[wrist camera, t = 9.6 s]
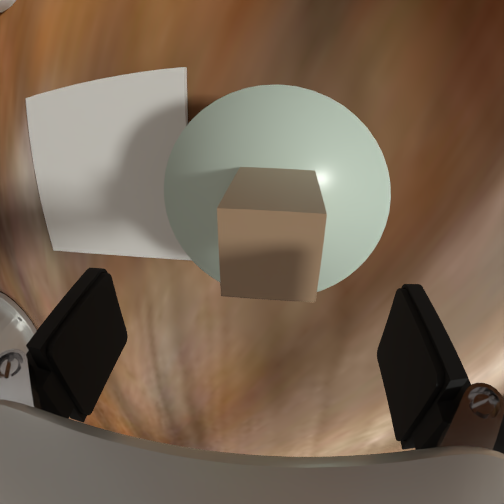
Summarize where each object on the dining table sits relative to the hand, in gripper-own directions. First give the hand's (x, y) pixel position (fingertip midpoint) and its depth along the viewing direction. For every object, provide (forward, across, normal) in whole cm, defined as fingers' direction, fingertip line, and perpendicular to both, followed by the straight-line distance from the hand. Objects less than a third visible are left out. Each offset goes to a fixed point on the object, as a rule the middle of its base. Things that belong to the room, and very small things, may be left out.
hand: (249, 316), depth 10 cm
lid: (+10, -1, 0) cm, 10 cm away
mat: (+16, +14, 0) cm, 22 cm away
